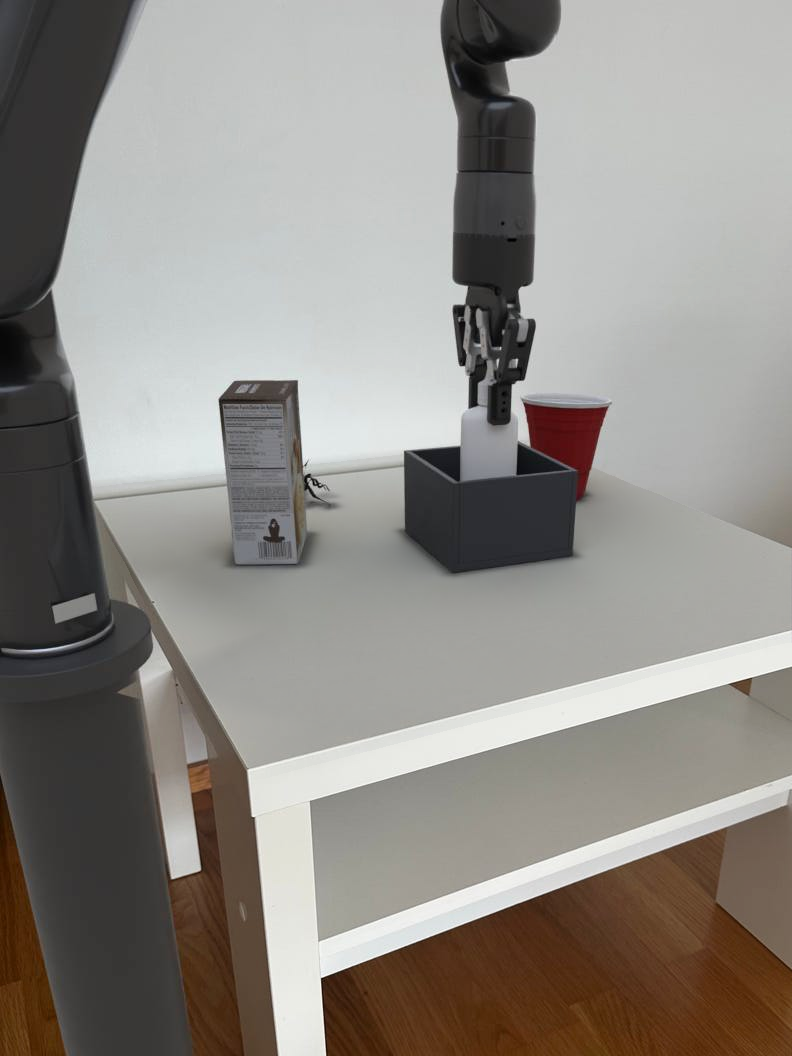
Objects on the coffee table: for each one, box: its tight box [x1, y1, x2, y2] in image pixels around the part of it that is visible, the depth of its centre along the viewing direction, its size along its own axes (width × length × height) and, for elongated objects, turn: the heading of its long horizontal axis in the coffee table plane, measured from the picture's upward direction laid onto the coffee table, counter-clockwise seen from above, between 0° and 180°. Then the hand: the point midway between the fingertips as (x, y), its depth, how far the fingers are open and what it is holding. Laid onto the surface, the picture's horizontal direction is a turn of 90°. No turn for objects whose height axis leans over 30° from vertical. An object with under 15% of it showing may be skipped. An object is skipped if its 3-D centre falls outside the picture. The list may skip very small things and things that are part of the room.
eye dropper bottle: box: [460, 370, 519, 481], centre depth 93 cm, size 4×6×12 cm
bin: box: [403, 440, 578, 574], centre depth 96 cm, size 13×13×9 cm
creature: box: [303, 459, 331, 506], centre depth 108 cm, size 8×5×8 cm
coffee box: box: [218, 379, 308, 566], centre depth 91 cm, size 9×6×16 cm
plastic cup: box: [519, 392, 613, 501], centre depth 112 cm, size 11×11×12 cm
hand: (489, 418), depth 92 cm, fingers closed on eye dropper bottle, 4 cm apart
